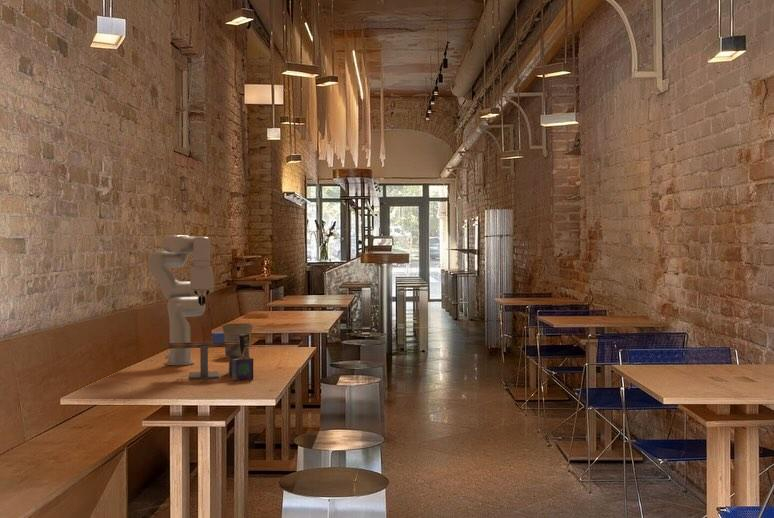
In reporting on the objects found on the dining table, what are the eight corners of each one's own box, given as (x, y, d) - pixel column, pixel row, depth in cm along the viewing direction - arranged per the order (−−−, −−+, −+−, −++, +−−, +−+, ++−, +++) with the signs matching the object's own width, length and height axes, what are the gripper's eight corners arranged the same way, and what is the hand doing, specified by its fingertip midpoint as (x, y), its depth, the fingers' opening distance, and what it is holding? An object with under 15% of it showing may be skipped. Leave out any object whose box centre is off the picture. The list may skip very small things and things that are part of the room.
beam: (167, 358, 351) (167, 345, 351) (168, 355, 359) (167, 342, 359) (240, 356, 358) (240, 343, 358) (239, 353, 366) (239, 341, 365)
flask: (233, 381, 346) (233, 355, 346) (230, 380, 349) (230, 354, 348) (254, 379, 351) (254, 354, 351) (251, 378, 353) (251, 353, 353)
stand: (189, 379, 350) (189, 347, 350) (189, 374, 364) (189, 343, 364) (237, 378, 355) (236, 345, 354) (235, 373, 368) (235, 342, 368)
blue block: (212, 344, 356) (212, 333, 356) (212, 343, 361) (212, 332, 361) (224, 344, 358) (224, 333, 357) (224, 343, 362) (224, 332, 362)
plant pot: (258, 355, 426) (258, 323, 425) (239, 358, 413) (238, 326, 412) (236, 353, 433) (235, 322, 433) (216, 356, 420) (216, 325, 420)
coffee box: (242, 372, 371) (242, 335, 370) (228, 371, 372) (228, 335, 372) (249, 369, 380) (249, 333, 379) (236, 368, 381) (236, 333, 381)
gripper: (184, 264, 371) (184, 306, 371) (218, 264, 374) (219, 305, 374) (184, 264, 378) (184, 305, 378) (218, 264, 381) (218, 304, 382)
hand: (201, 305), depth 376 cm, fingers closed
